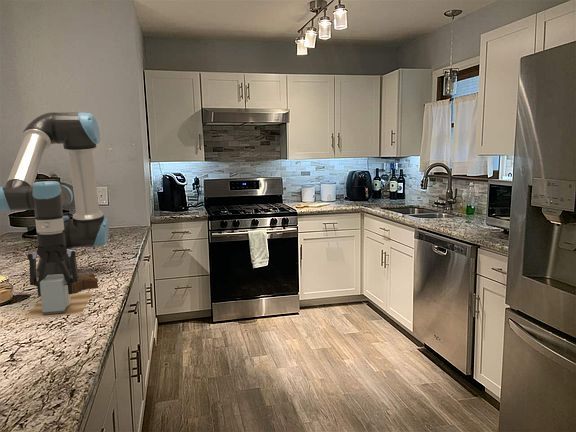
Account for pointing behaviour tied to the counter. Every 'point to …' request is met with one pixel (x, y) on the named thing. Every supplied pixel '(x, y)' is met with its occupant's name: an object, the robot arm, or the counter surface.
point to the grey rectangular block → (53, 294)
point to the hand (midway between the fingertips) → (57, 305)
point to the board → (74, 308)
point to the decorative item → (85, 282)
